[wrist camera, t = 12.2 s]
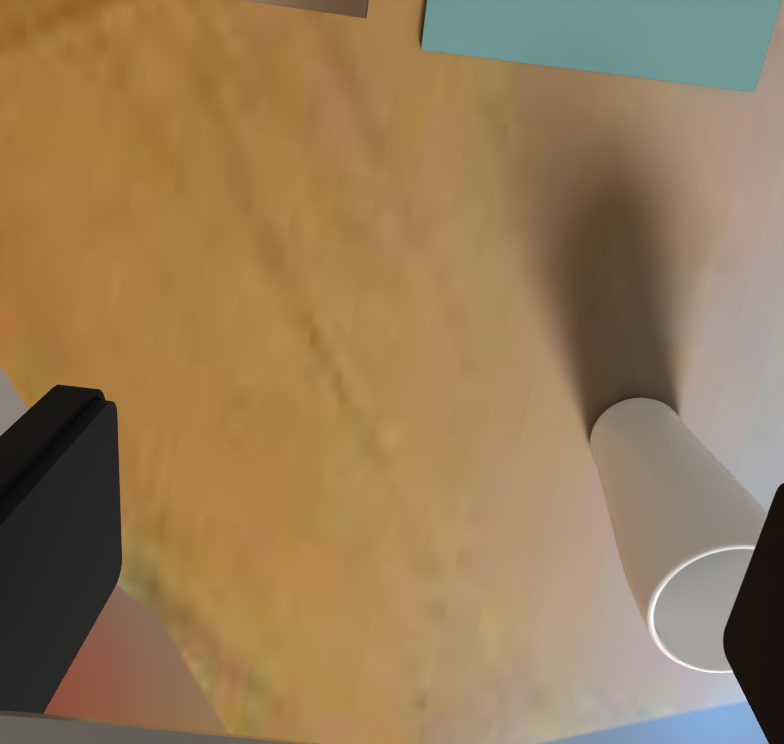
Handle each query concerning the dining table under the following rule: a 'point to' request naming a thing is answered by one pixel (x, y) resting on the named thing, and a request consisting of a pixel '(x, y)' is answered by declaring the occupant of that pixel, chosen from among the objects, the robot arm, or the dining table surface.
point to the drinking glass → (675, 527)
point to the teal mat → (613, 36)
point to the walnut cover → (325, 6)
